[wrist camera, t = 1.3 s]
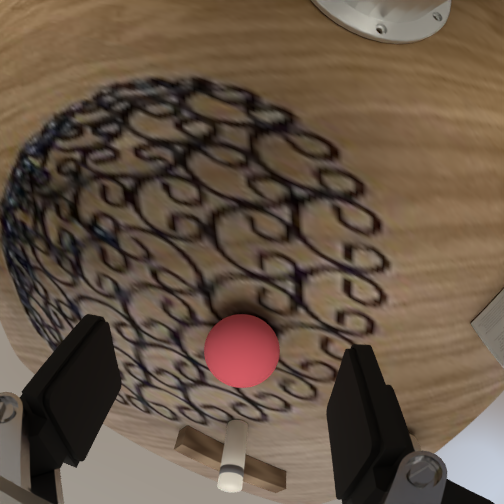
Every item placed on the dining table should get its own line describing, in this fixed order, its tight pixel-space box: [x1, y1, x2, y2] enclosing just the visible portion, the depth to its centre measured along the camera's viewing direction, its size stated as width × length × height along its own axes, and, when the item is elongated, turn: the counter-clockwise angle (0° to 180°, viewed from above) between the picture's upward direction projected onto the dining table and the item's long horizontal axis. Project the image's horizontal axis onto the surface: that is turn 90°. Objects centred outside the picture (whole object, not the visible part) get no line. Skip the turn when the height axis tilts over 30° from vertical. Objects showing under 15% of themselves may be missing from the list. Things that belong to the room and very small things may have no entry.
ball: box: [204, 314, 280, 388], centre depth 25 cm, size 6×6×6 cm
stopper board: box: [174, 425, 286, 493], centre depth 34 cm, size 16×2×3 cm, turn 51°
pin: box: [218, 420, 248, 492], centre depth 29 cm, size 2×2×9 cm
